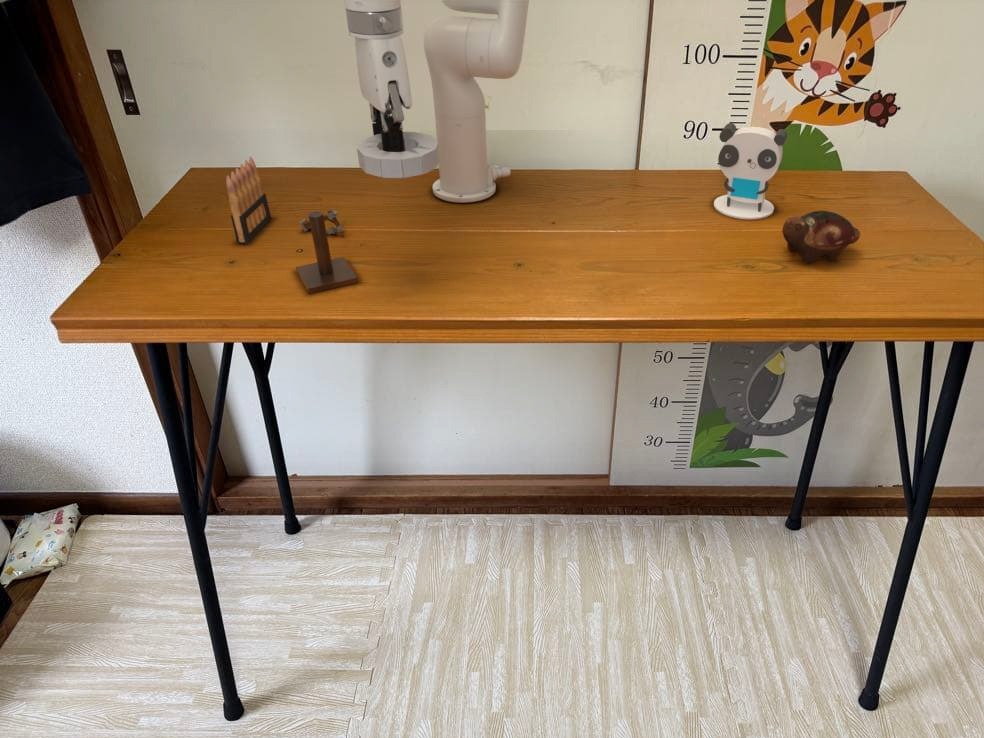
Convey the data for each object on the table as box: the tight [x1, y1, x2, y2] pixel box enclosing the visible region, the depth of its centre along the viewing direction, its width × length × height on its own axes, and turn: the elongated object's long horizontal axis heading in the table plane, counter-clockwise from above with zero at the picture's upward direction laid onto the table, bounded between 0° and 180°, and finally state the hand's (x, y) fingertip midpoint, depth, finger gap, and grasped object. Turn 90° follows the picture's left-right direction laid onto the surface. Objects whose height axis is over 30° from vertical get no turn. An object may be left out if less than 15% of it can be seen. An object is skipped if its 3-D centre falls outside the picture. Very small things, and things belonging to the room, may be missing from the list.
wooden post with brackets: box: [299, 209, 345, 235], centre depth 137 cm, size 2×8×4 cm, turn 71°
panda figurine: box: [713, 122, 788, 220], centre depth 144 cm, size 12×11×15 cm
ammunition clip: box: [226, 156, 272, 245], centre depth 135 cm, size 11×2×12 cm, turn 172°
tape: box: [356, 131, 440, 179], centre depth 114 cm, size 12×12×3 cm
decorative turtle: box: [781, 210, 861, 265], centre depth 130 cm, size 10×15×8 cm, turn 113°
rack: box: [295, 210, 359, 295], centre depth 122 cm, size 8×8×11 cm
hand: (389, 151), depth 118 cm, fingers closed on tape, 3 cm apart
